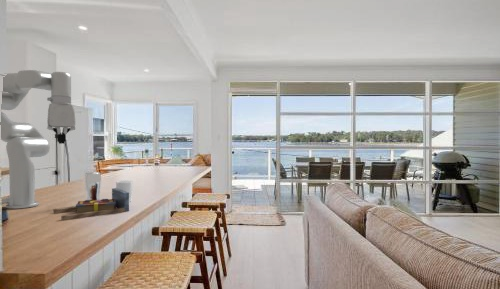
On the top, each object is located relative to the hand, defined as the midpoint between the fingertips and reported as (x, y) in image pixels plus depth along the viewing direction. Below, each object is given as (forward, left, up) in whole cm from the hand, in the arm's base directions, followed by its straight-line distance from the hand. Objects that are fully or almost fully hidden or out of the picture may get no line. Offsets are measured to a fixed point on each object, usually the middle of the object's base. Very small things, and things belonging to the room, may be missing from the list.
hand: (61, 143), depth 145 cm
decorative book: (+11, -12, -30) cm, 34 cm away
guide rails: (+8, -12, -29) cm, 32 cm away
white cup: (+28, +2, -29) cm, 41 cm away
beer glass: (+14, +4, -29) cm, 33 cm away
